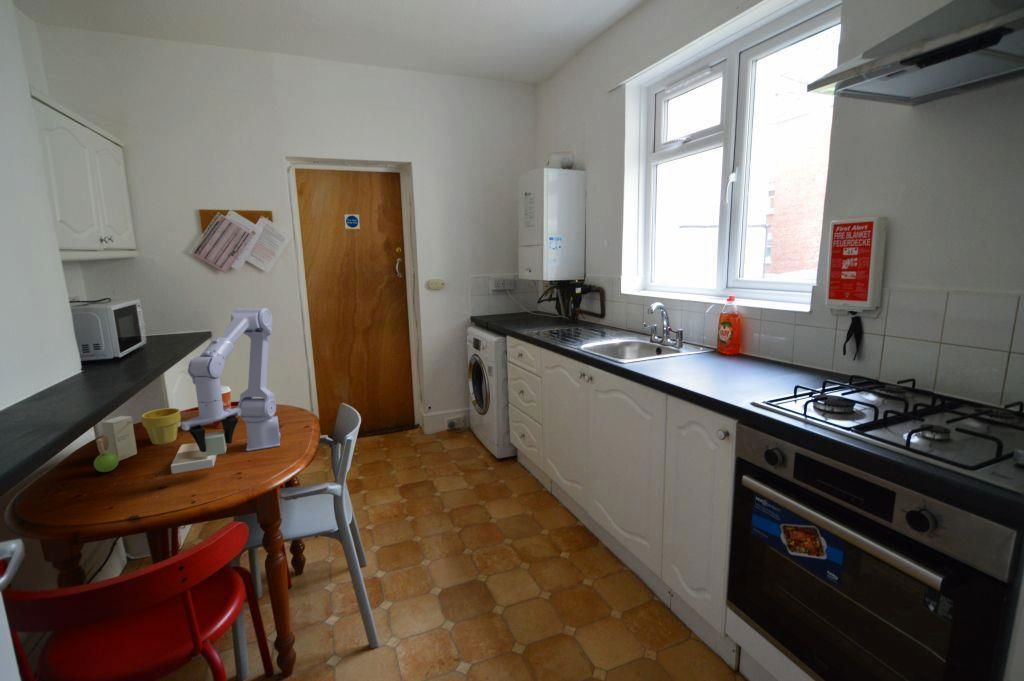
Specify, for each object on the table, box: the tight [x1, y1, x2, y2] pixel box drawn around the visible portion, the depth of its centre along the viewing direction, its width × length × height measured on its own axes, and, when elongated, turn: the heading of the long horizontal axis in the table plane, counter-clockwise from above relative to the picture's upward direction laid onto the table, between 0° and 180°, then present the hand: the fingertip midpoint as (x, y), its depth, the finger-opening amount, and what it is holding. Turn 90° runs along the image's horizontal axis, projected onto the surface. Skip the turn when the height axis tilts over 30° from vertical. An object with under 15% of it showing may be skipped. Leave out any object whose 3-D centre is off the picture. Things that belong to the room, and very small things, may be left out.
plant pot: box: [141, 407, 182, 445], centre depth 161 cm, size 10×10×10 cm
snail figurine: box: [93, 434, 120, 473], centre depth 138 cm, size 5×6×12 cm
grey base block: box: [170, 454, 218, 475], centre depth 143 cm, size 10×10×3 cm
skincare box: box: [100, 415, 138, 462], centre depth 148 cm, size 6×4×12 cm
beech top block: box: [176, 442, 208, 463], centre depth 143 cm, size 7×7×3 cm
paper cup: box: [212, 385, 232, 429], centre depth 174 cm, size 8×8×14 cm
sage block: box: [205, 430, 228, 456], centre depth 135 cm, size 4×4×5 cm
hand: (216, 446), depth 135 cm, fingers closed on sage block, 6 cm apart
